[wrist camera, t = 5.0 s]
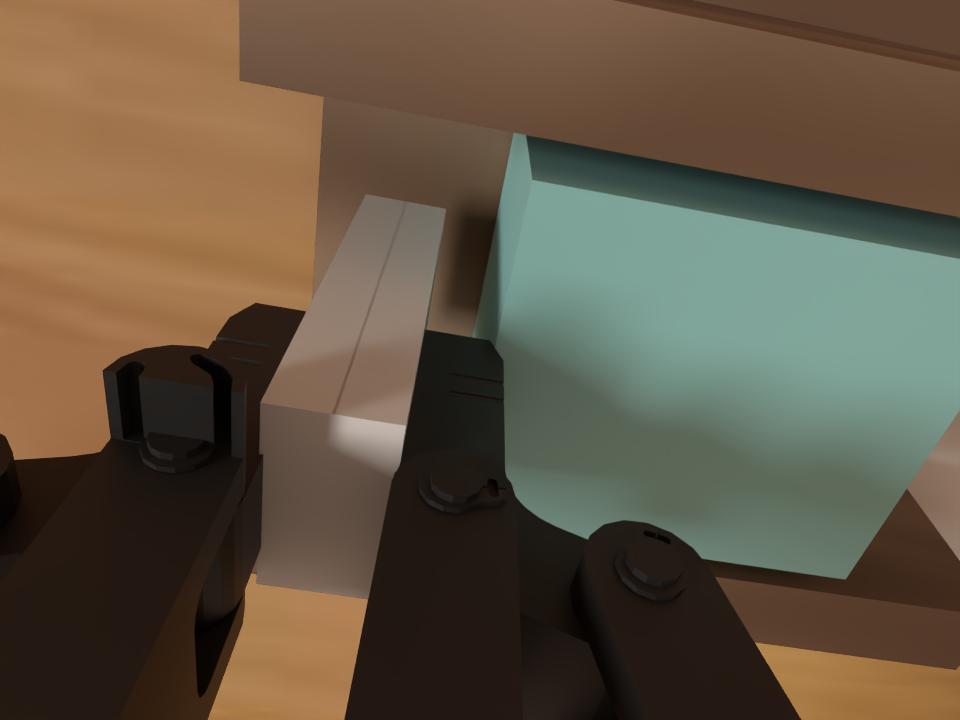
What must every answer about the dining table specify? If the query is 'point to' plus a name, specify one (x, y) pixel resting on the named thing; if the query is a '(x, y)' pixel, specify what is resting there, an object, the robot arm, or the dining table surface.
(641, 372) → the block
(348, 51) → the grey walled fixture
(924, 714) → the dining table surface
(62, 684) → the robot arm
